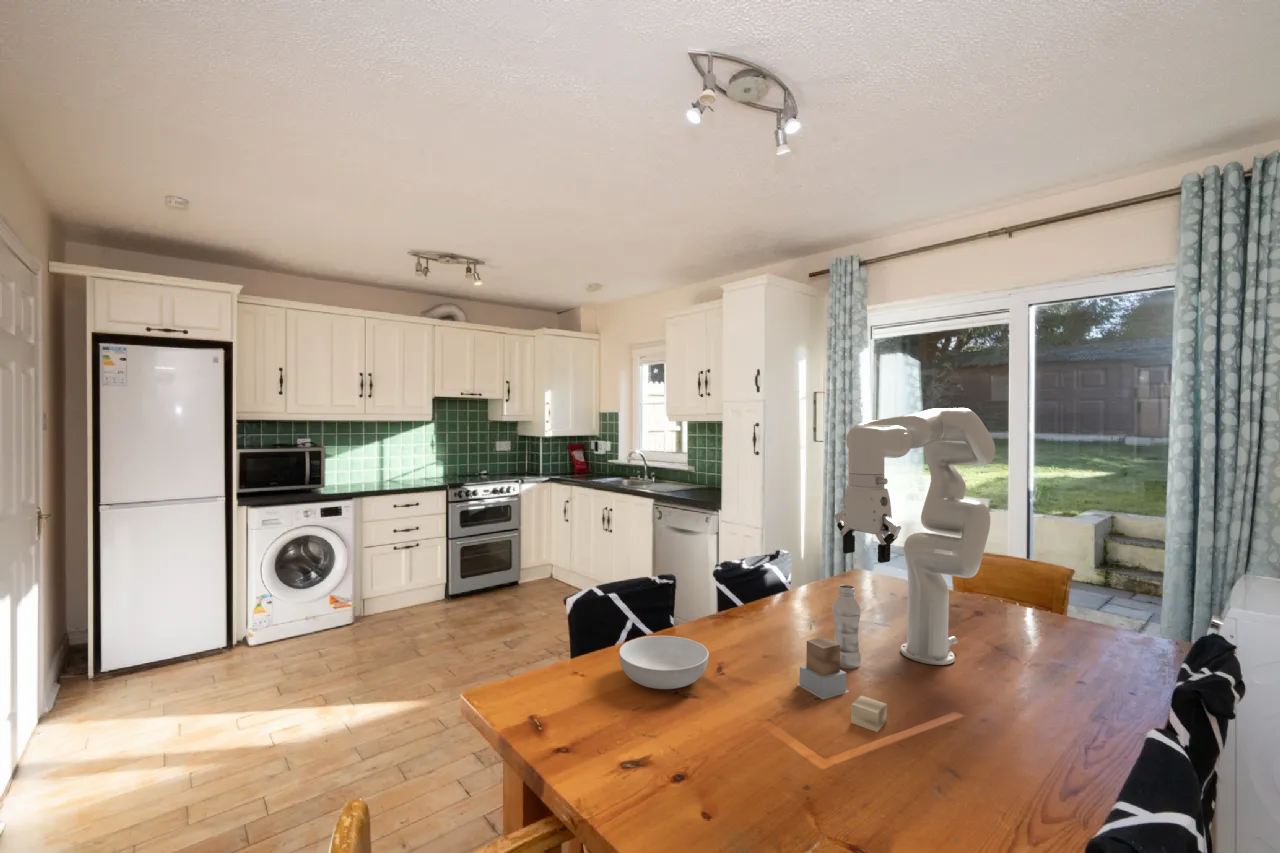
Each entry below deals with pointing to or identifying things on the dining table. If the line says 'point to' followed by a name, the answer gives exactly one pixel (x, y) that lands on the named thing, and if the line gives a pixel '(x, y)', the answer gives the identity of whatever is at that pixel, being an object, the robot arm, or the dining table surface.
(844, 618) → the plastic bottle
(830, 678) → the base block
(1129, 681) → the dining table surface
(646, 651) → the serving bowl
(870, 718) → the birch block
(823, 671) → the walnut block
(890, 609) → the dining table surface
